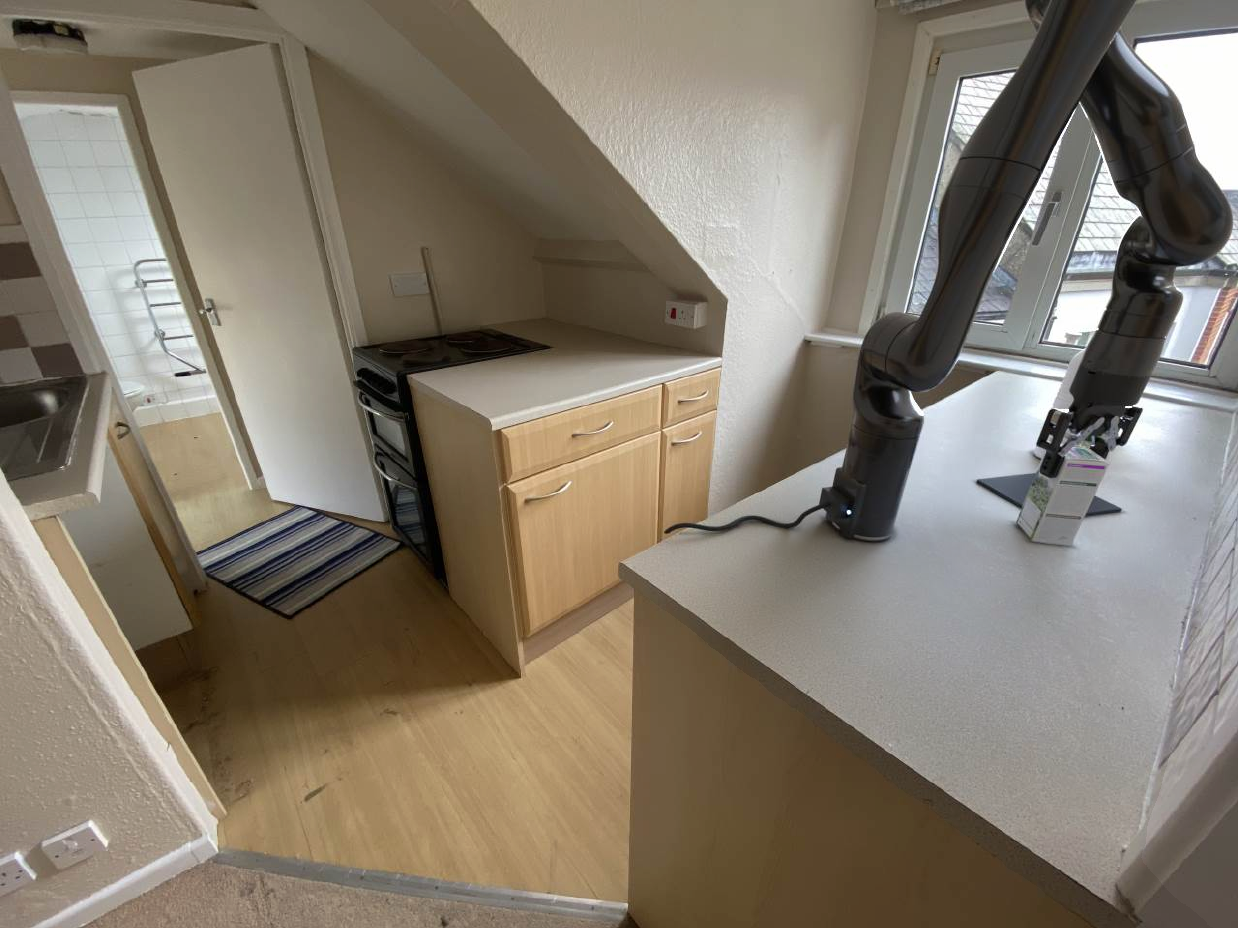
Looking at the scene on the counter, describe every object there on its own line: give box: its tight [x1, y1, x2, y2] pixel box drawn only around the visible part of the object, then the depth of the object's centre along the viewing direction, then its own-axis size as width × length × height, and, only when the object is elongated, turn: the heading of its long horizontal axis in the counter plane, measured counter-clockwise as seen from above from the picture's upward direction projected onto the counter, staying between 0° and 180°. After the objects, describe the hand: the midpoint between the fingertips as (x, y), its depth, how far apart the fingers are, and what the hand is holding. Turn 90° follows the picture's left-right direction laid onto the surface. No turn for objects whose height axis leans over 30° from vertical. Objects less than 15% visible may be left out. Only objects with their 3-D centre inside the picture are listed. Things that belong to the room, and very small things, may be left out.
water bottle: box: [1033, 331, 1087, 460], centre depth 105 cm, size 9×6×25 cm
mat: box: [976, 472, 1123, 517], centre depth 95 cm, size 16×14×1 cm
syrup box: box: [1015, 444, 1110, 547], centre depth 81 cm, size 6×6×14 cm
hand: (1068, 473), depth 79 cm, fingers closed on syrup box, 7 cm apart
